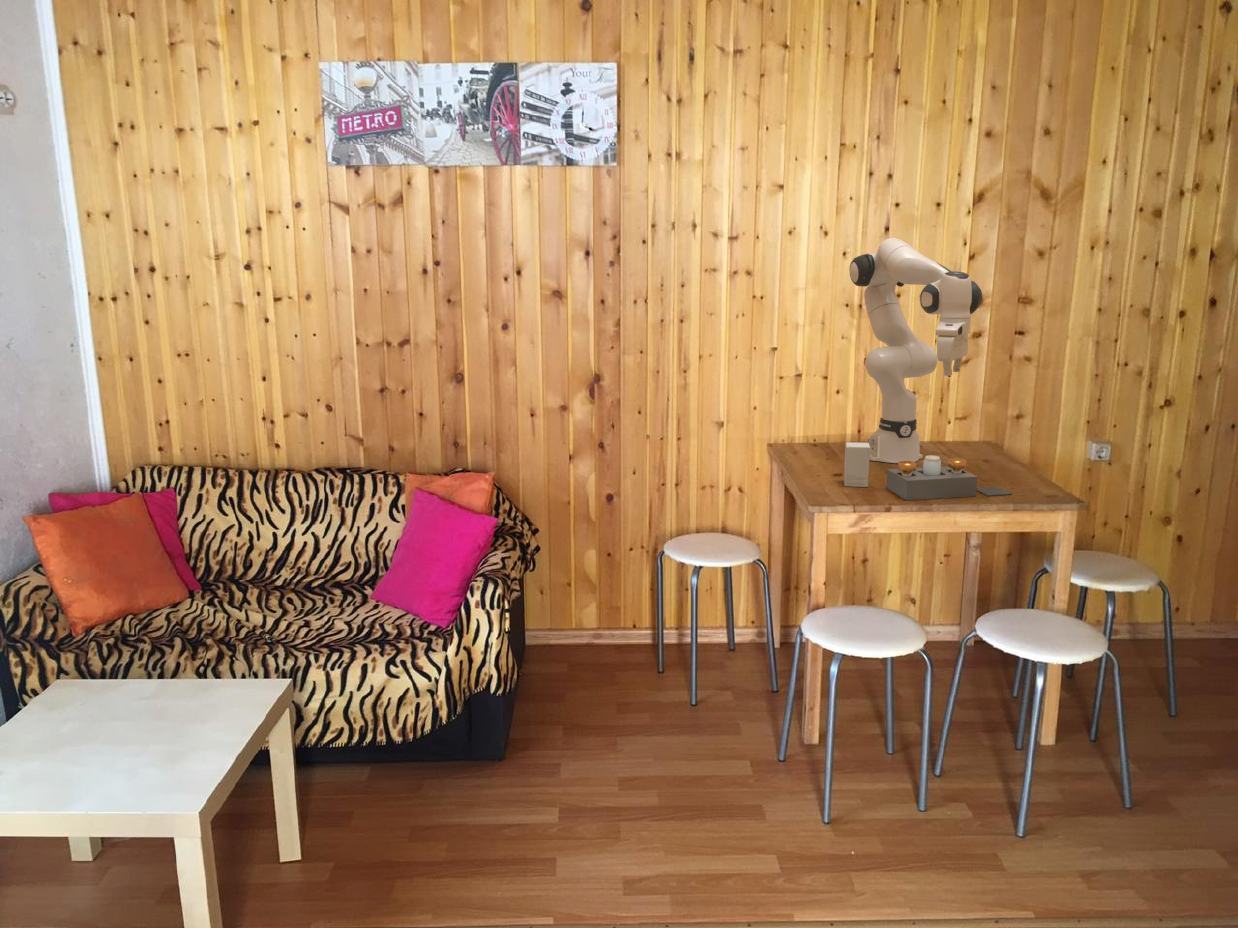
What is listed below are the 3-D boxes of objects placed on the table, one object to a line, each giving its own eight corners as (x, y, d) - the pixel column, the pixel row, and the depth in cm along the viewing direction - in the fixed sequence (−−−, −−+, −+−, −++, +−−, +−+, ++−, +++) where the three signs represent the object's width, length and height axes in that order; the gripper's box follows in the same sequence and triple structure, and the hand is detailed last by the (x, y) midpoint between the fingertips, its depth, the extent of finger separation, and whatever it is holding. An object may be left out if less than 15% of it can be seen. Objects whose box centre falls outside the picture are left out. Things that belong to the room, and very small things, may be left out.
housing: (886, 488, 310) (887, 469, 309) (953, 484, 314) (954, 465, 312) (906, 500, 297) (907, 480, 295) (976, 496, 300) (977, 476, 299)
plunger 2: (943, 482, 308) (945, 458, 306) (959, 481, 309) (961, 457, 307) (951, 486, 303) (953, 462, 301) (967, 485, 304) (969, 461, 302)
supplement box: (868, 487, 312) (870, 447, 309) (843, 486, 313) (845, 446, 310) (867, 481, 319) (869, 442, 316) (843, 480, 320) (845, 441, 317)
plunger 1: (894, 485, 306) (895, 461, 304) (910, 484, 306) (911, 460, 305) (901, 489, 301) (902, 465, 299) (917, 488, 301) (919, 464, 300)
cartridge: (918, 490, 307) (921, 455, 305) (934, 489, 308) (936, 454, 305) (926, 494, 302) (928, 459, 300) (942, 493, 303) (944, 458, 301)
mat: (973, 489, 307) (973, 488, 307) (998, 488, 309) (998, 486, 308) (987, 496, 300) (987, 495, 300) (1012, 494, 301) (1012, 493, 301)
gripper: (953, 324, 310) (951, 369, 313) (933, 329, 294) (931, 377, 297) (974, 325, 307) (972, 370, 310) (955, 330, 290) (953, 378, 293)
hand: (952, 373), depth 303 cm, fingers open, 8 cm apart
